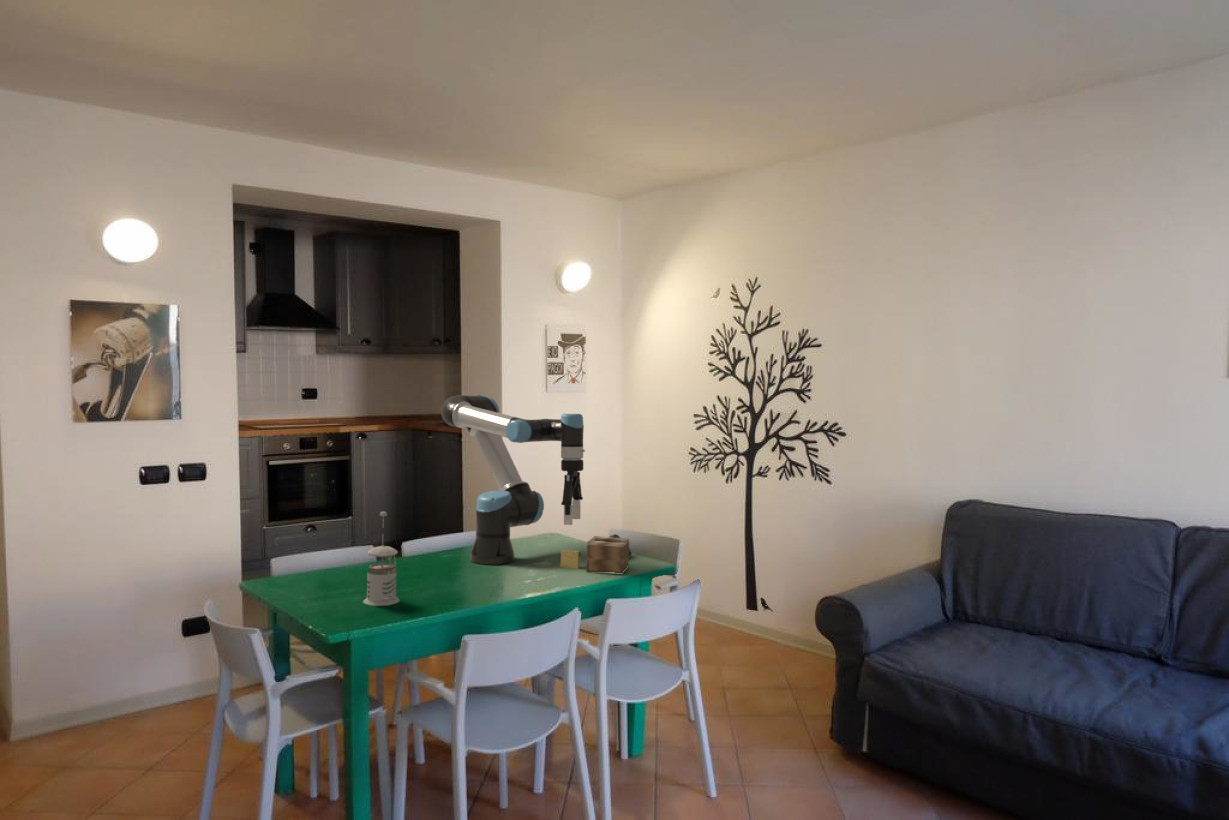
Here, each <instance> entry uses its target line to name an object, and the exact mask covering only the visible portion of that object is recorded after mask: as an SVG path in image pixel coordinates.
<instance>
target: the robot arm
mask: <svg viewBox="0 0 1229 820" xmlns="http://www.w3.org/2000/svg"><path fill="white" fill-rule="evenodd" d="M440 409H441V411H440V413H441V418H442V420H443V421H444V422H445V424H447V425H449V426H450V427H454V428H459V429H463V428H464V429H465V428H466V429H467V432H468V433H469V435H470V436H471V437H474V438H475V439H476V440H477V443H478V445H479V447H480V449H481V452H482V454H483V456H484V458H485V460H486V463H487V465H488V467H489V469H490V471H491V474H492V476H493V477H494V480H495V482H496V484H497V486H498V489H499V490H491V491H486V492H483V493H481V494H479V495H478V497H477V500H476V501H477V502H476V507H475V508H476V511H475V512H476V514H475V515H476V522H475V523H476V525H475V528H476V529H475V540H474V542H473V545H472V548H471V551H470V557H469V558H470V559H469V560H470V562H473V563H476V564H481V565H504V564H510V563H513V562H514V561H515V555H516V554H515V550H514V547H513V543H512V540H511V528H515V527H520V526H529V525H531V524H536V523H537V522H538V521H539V520H540V519H541V518H542V516H543V513H544V509H545V503H544V499H543V496H542V494H541V493H540V492H539V491H538V492H537V491H535V490H532V488H531V486H530V485H529V483H528V482H527V481H523V479H522V478H521V475H520V473H519V471H518V469H517V467H516V465H515V463H514V461H513V459H512V457H511V454H510V452H509V450H508V447H507V445H506V443H505V442H504V440H503V438H506V439H508V440H509V442H512V443H516V444H517V443H519V444H523V443H534V442H535V443H536V442H560V444H561V445H560V447H561V448H560V458H561V459H562V460H560V469H561V470H560V471H562V472H567V473H566V474H564V480H563V481H564V483H563V493H562V500H561V501H562V502H561V506H563V525H565V526H571V525H572V526H573V520H581V501H582V500H584V499H583V495H582V494H583V493H582V488H581V487H582V485H581V479H580V478H581V472H582V471H584V459H583V458H584V453H585V452H586V449H585V448H584V430H585V429H584V427H585V425H584V417H583V415H582V414H581V413H561V415H560V416H561V417H560V418H559V419H558V418H557V419H555V418H554V419H553V418H539V419H527V418H526V419H525V418H520V417H517V416H513V415H509V414H505V413H502V412H501V413H500V408H499V405H498V403H497V402H496V400H495V399H493V398H492V397H491V396H488V395H482V394H477V395H461V394H459V395H453V396H450V397H448V398H447V399H446V400H445V401H443V404H442V406H441V408H440Z"/></svg>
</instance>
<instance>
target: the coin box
mask: <svg viewBox="0 0 1229 820" xmlns="http://www.w3.org/2000/svg"><path fill="white" fill-rule="evenodd" d="M586 545H587V546H586V570H585V571H586V573H591V572H615V573H623V571H624V570H625V569H626V568H627V566H628V567H629V564H630V563H629V562H630V561H629V559H630V558H629V548H630V538H624V537H620V538H615V537H610V536H600V535H599V536H598V535H594V536H592V538H590V539H589V540H588V541H587V542H586ZM623 574H624V573H623Z"/></svg>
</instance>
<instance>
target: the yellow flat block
mask: <svg viewBox="0 0 1229 820" xmlns="http://www.w3.org/2000/svg"><path fill="white" fill-rule="evenodd" d="M580 562H581V550H572V549H561V550H560V568H564V567H568V568H567V569H577V568H578V569H579V568H580V564H581V563H580Z"/></svg>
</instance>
